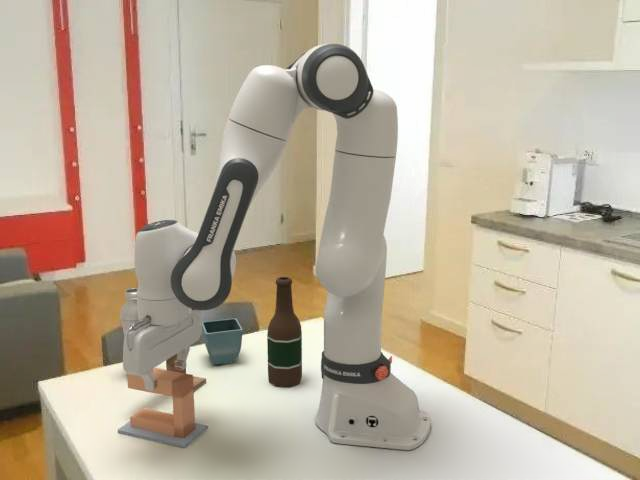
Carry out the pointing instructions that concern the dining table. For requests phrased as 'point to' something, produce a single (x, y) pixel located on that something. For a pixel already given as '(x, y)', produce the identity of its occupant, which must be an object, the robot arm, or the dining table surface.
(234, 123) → the robot arm
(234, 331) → the flower pot
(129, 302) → the plastic bottle
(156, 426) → the c link
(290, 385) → the beer bottle
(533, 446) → the dining table surface
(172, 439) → the felt mat
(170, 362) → the brown wooden angular piece
